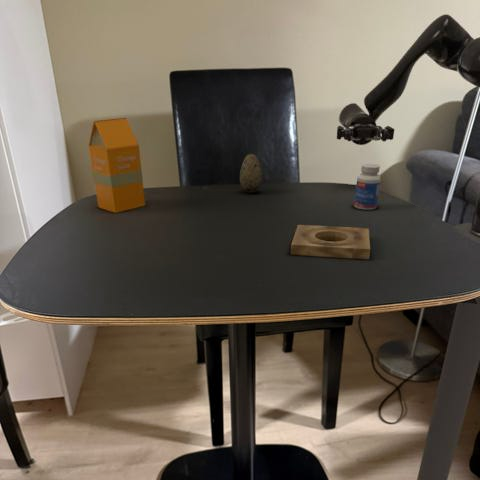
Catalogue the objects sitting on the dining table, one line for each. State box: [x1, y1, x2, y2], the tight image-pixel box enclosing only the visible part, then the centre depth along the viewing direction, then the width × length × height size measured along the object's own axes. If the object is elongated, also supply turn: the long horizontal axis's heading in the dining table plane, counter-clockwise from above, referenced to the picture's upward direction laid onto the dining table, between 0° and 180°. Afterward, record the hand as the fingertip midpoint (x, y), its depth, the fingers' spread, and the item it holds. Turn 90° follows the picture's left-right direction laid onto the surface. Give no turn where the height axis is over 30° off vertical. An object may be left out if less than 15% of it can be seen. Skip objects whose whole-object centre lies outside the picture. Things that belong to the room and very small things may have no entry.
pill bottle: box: [353, 163, 382, 211], centre depth 113 cm, size 6×5×10 cm
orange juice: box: [88, 117, 146, 214], centre depth 114 cm, size 8×9×20 cm
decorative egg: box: [239, 153, 263, 194], centre depth 127 cm, size 6×6×10 cm
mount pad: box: [290, 224, 371, 260], centre depth 91 cm, size 14×12×2 cm
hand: (367, 136), depth 118 cm, fingers open, 8 cm apart
